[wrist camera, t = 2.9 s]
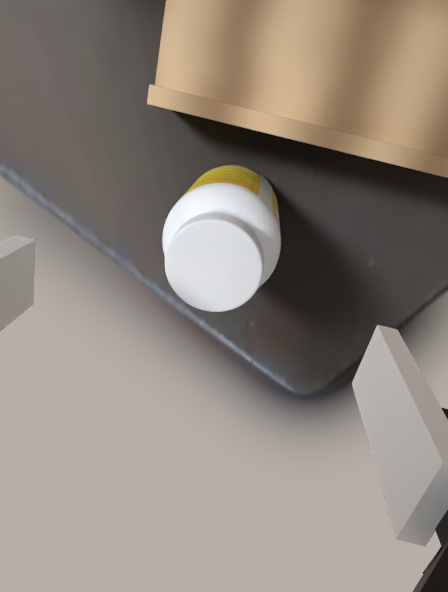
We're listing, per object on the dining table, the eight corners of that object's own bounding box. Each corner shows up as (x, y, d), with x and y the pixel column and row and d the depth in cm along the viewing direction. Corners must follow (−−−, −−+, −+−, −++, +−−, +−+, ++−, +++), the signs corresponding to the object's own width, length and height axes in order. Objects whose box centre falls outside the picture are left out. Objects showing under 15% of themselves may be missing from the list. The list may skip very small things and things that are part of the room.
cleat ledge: (164, 103, 27) (147, 103, 24) (195, -115, 23) (180, -158, 19) (489, 183, 27) (524, 196, 24) (589, -18, 23) (652, -42, 19)
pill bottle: (174, 183, 30) (120, 227, 19) (260, 147, 28) (252, 174, 18) (209, 264, 32) (178, 343, 21) (291, 235, 30) (300, 306, 20)
